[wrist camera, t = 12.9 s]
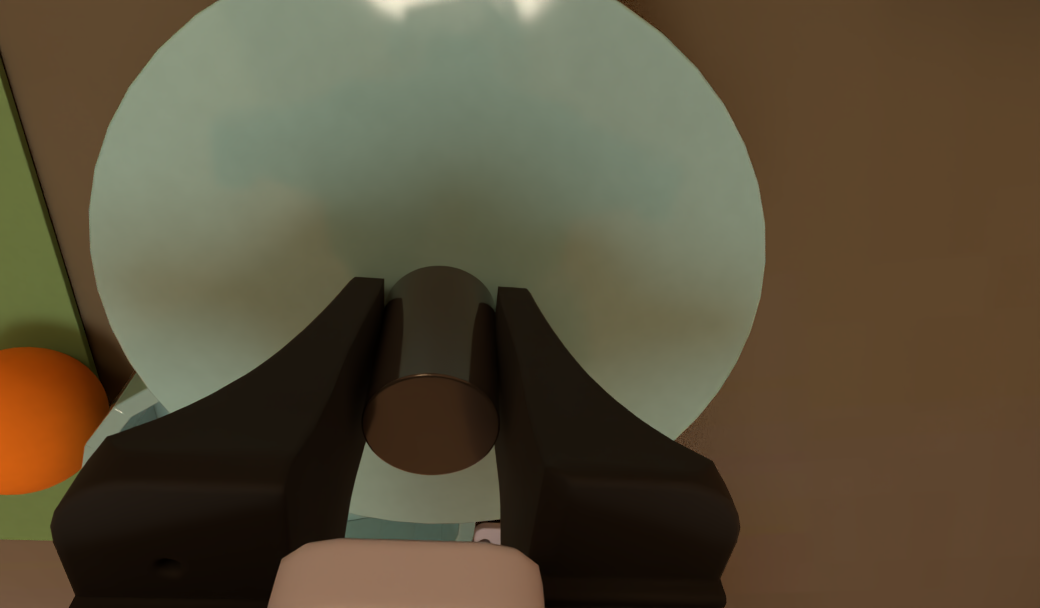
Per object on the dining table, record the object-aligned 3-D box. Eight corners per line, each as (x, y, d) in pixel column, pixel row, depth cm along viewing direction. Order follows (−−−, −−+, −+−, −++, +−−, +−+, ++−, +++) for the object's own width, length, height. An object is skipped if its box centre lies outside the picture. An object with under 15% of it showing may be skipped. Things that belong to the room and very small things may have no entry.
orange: (22, 391, 26) (146, 427, 27) (-85, 499, 23) (60, 540, 23) (-12, 300, 23) (129, 342, 23) (-144, 408, 19) (26, 457, 20)
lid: (668, 501, 20) (714, 656, 16) (174, 484, 19) (93, 650, 15) (846, -14, 12) (1016, 44, 8) (27, -113, 11) (-226, -99, 7)
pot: (466, 525, 32) (464, 624, 28) (174, 518, 30) (127, 620, 26) (489, 291, 24) (491, 378, 20) (107, 267, 23) (28, 355, 19)
